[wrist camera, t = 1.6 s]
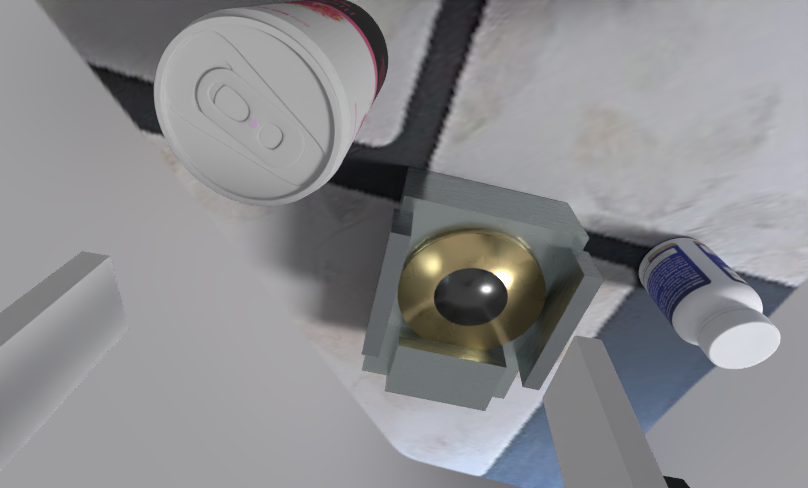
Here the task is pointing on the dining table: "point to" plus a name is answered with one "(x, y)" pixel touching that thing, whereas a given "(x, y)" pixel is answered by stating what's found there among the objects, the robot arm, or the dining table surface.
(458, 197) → the brass dish housing
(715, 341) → the pill bottle
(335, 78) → the beverage can
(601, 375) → the robot arm
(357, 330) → the dining table surface
